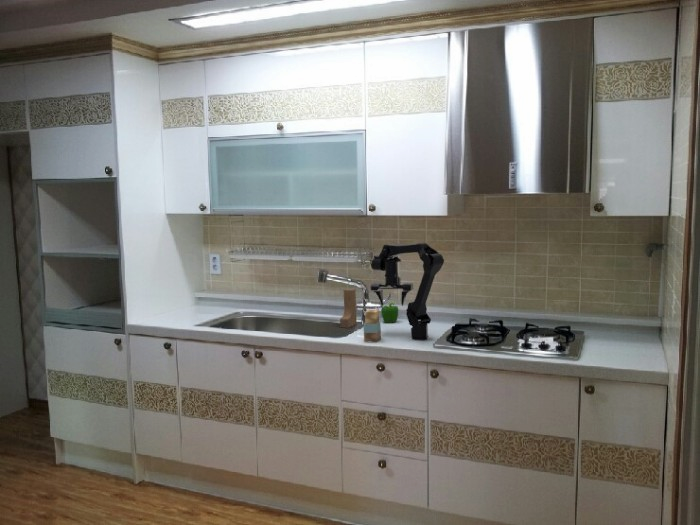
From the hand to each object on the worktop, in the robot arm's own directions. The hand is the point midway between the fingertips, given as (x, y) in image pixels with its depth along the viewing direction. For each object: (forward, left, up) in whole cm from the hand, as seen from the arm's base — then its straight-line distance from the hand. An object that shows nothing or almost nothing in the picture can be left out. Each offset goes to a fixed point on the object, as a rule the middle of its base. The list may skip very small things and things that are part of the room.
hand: (392, 305), depth 283 cm
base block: (+6, +14, -13) cm, 20 cm away
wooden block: (+26, -14, -13) cm, 32 cm away
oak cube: (+6, +14, -5) cm, 16 cm away
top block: (+6, +14, -9) cm, 18 cm away
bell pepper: (+8, -26, -13) cm, 30 cm away
